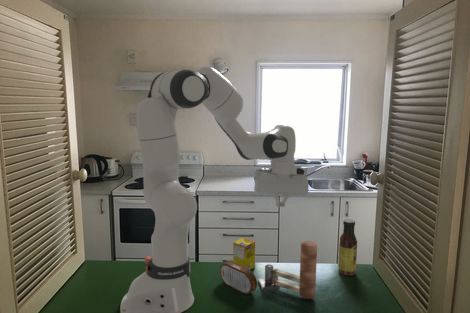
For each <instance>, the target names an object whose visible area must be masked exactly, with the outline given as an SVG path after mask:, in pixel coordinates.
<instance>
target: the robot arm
mask: <svg viewBox="0 0 470 313" xmlns="http://www.w3.org/2000/svg"><path fill="white" fill-rule="evenodd" d="M201 104H202V105H203V106H204V107H205V108H206V110H208V111H209V113H211V115H213V117H214V119H215V122H216V123H217V125H218V126H219V127H220V128H221V130H222V132H224V133H225V135H226V136H227V137H228V138H229V139H230V141H231V142H232V143H233V145H234V147H235V148H236V150H237V152H238V155H239V156H240V157H241V158H242V159H244V160H247V161H249V160H270V168H264V167H263V168H262V167H261V168H258V169H256V171H255V172H254V178H255V182H254V188H253V189H254V192H255V193H256V194H268V195H273V199H274V200H275V202H276V203H275V206H276V207H279V208H284V207H285V208H286V202H287V200H288V199H289V196H291V195H292V196H307V195H308V194H309V179H308V177H307V173H308V170H306V169H305V168H303V167H300V166H297V165H295V153H296V142H297V139H296V131H295V129H294V128H292V127H291V126H289V125H285V124H284V125H282V124H278V125H275V126H274V128H272V129H271V130H269V131H266V132H256V133H254V132H248V131H246V129H244V127H243V126H242V125H241V123H240V122H239V121H238V120H237V119H238V117H239V115H240V114H241V112H242V111H243V106H244V99H243V97H242V95H241V93H240V92H239V91H238V89H237V88H236V87H235V86H234V85H233V84H232V83H231V82H230V80H228V78H226V77H225V75H223V74H221V73H220V72H219V71H218V70H217V69H215V68H214V67H212V66H208V65H206V66H205V65H204V66H201V67H200V68H198V69H197V70H191V69H180V70H179V69H172V70H169V71H166V72H165V71H164V72H162V73H160V74H158V75H156V76H155V78H154V79H153V80H152V82H151V84H150V87H149V93H148V95H147V98H144V99H142V100H141V101H140V102H139V103H138V104H137V105H136V114H135V115H136V130H137V139H138V145H139V150H140V155H141V156H140V157H141V161H142V169H143V176H142V177H143V178H142V179H143V192H142V193H143V198H144V201H145V203H146V205H147V206H148V207H149V209H151V210H152V211H153V213H154V217H155V221H154V223H155V224H154V229H153V233H152V234H151V238H150V240H151V242H150V243H151V256H149V255H148V256H146V257H145V258H144V263H145V266H144V268H145V271H144V272H143V273H141V274H140V275H139V276H137V277H136V278H134V280H132V282H131V284H130V286H129V289H128V292H127V293H126V294H125V295H124V296H123V298H122V299H121V301H120V306H119V307H120V308H119V311H120V312H119V313H184V312H185V311H187V310H188V309H189V308H191V307H192V306H193V305H194V301H195V296H194V294H193V291H192V286H191V281H190V280H191V279H190V276H191V261H190V256H189V239H188V238H189V230H190V227H191V225H190V224H191V222H192V220H193V219H194V218H195V215H196V214H197V211H198V202H197V200H196V198H195V196H194V195H193V193H192V192H191V191H190V190H189V189H188V188H187V187H185V186H183V185H182V184H181V183H180V181H179V166H180V163H181V161H182V157H181V151H180V149H181V148H180V144H179V138H178V131H177V126H176V115H177V112H178V110H182V109H193V108H195V107H198V106H199V105H201ZM280 195H282V197H283V199H282V201H280V200H279V197H280Z"/></svg>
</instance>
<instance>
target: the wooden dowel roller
mask: <svg viewBox="0 0 470 313" xmlns="http://www.w3.org/2000/svg"><path fill="white" fill-rule="evenodd" d="M299 257H300V260H299V265H300V266H299V275H297V274H294V273H290V272H288V271H284V270H282V269H278V268H273V281H272V284H274V285H277V286H280V288H284V289H286V290H289V291H292V292H295V293H297V294H299V296H300V298H303V299H306V300H310V299H311V300H312V299H314V298H315V297H316V284H317V283H316V282H317V281H316V280H317V262H318V261H317V257H318V244H317V243H316V242H314V241H310V240H307V241H302V242H300V256H299ZM279 277H280V278H283V279H285V281H284V280H282V279H280V278H279ZM286 280H288V281H292V282H295V283H298V285H297V284H294V283H291V282H288V281H286Z"/></svg>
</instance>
